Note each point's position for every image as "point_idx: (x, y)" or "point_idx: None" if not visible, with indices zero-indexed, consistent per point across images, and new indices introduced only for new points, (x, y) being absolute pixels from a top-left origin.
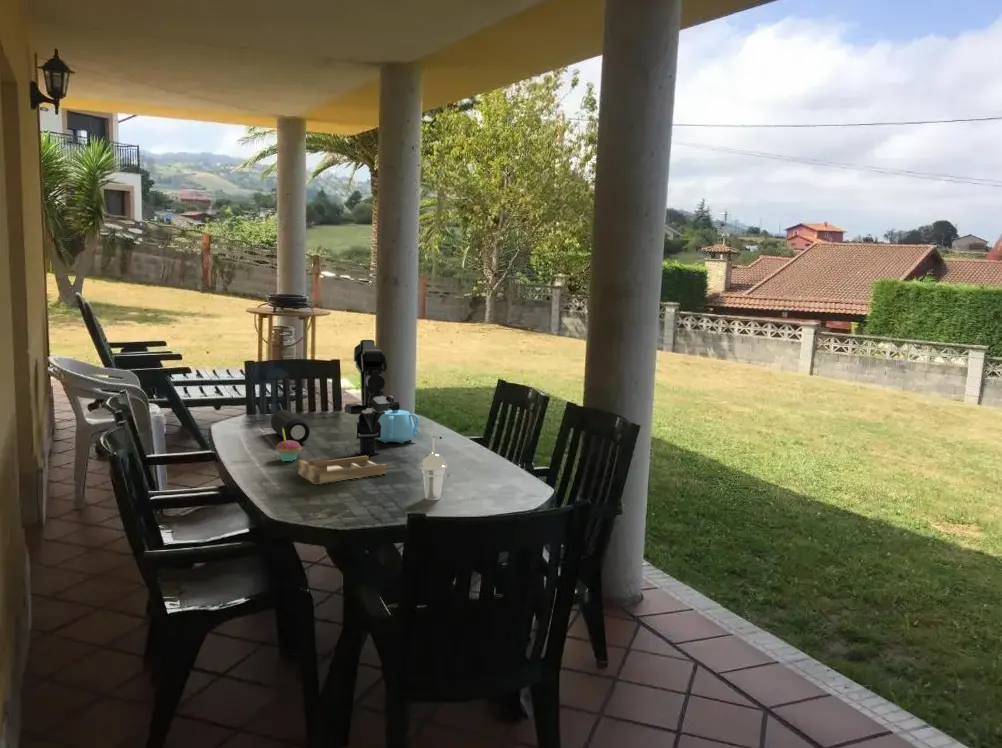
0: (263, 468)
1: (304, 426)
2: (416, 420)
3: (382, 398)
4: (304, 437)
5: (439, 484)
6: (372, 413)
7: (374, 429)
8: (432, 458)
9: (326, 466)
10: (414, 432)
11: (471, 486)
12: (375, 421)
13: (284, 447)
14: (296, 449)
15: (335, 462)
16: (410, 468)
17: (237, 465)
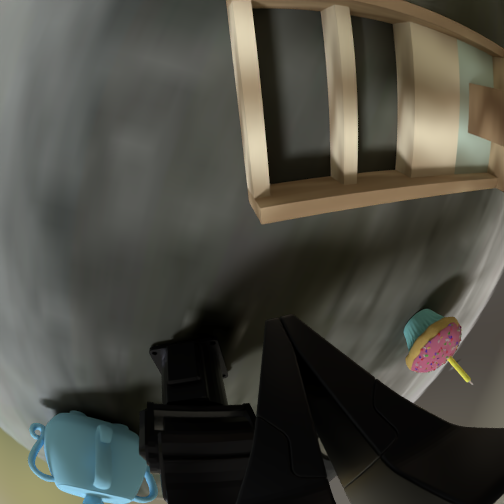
0: (480, 264)
1: (326, 456)
2: (33, 459)
3: None
4: (317, 435)
5: None
6: (502, 489)
7: (273, 333)
8: None
9: (489, 87)
10: (42, 431)
11: None
12: (304, 422)
13: (460, 328)
14: (439, 327)
15: (420, 180)
16: (57, 79)
17: (484, 295)
